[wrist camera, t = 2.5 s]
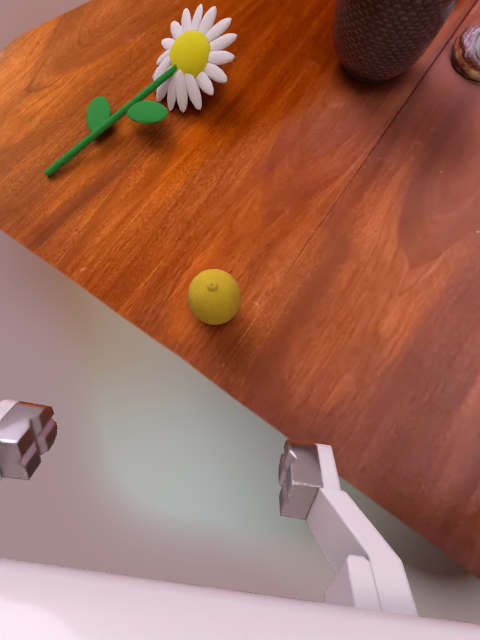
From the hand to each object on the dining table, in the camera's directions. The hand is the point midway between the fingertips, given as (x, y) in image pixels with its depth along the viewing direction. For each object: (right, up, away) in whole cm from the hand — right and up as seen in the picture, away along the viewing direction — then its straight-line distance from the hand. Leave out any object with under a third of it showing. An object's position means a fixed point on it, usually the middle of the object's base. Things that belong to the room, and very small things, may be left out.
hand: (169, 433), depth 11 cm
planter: (+21, +41, +36) cm, 59 cm away
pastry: (+37, +42, +37) cm, 67 cm away
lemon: (0, +5, +27) cm, 27 cm away
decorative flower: (-11, +32, +33) cm, 47 cm away
